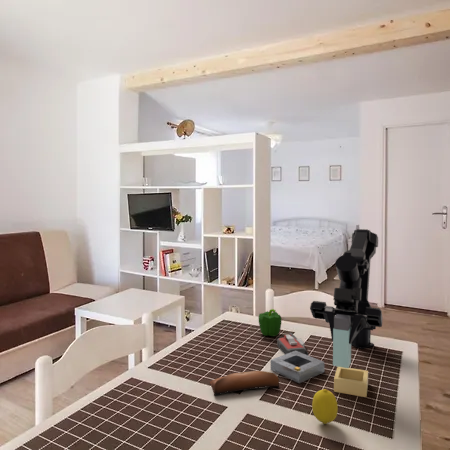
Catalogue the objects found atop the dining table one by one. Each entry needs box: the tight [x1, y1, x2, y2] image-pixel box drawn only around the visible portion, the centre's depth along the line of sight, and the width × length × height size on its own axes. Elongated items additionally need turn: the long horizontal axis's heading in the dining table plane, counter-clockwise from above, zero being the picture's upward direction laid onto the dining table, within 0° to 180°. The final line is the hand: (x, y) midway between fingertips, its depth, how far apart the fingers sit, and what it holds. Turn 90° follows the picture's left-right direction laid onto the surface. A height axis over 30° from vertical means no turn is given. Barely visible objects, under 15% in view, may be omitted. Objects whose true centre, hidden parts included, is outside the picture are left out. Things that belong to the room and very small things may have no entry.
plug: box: [332, 314, 352, 368], centre depth 103 cm, size 4×4×13 cm
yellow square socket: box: [333, 366, 369, 398], centre depth 103 cm, size 8×8×4 cm
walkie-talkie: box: [276, 332, 309, 356], centre depth 132 cm, size 9×4×20 cm
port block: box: [270, 351, 325, 384], centre depth 113 cm, size 11×11×3 cm
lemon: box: [311, 388, 339, 425], centre depth 86 cm, size 6×6×8 cm
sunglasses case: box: [209, 370, 280, 396], centre depth 105 cm, size 18×7×7 cm
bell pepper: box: [258, 308, 282, 337], centre depth 144 cm, size 8×8×10 cm
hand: (341, 341), depth 102 cm, fingers closed on plug, 4 cm apart
